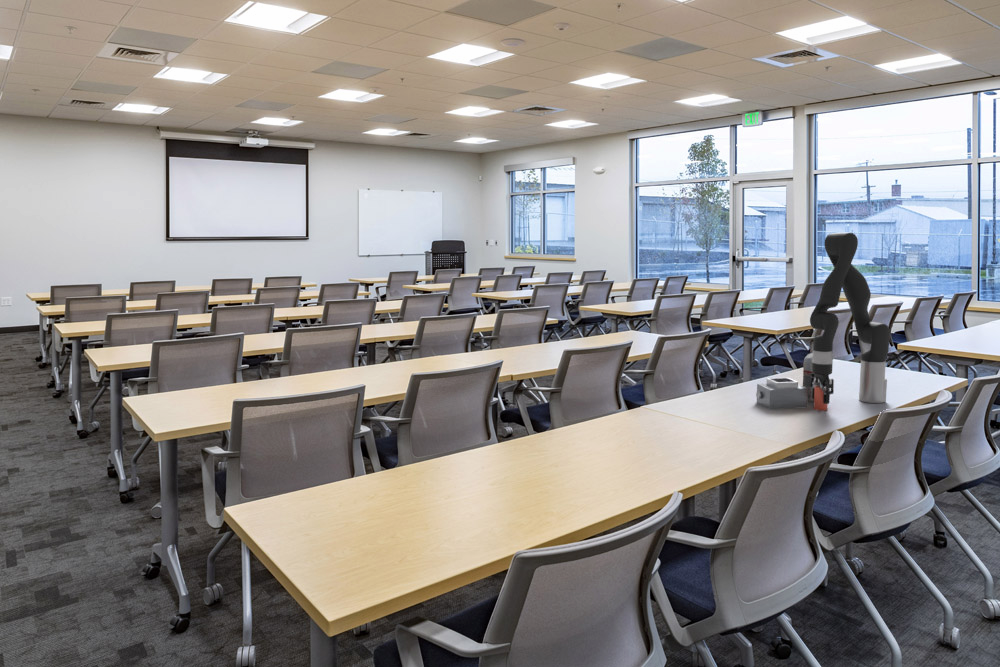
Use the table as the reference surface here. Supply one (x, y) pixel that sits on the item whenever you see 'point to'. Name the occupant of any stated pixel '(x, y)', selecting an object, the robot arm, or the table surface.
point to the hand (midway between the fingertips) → (820, 401)
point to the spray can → (808, 375)
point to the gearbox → (782, 394)
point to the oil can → (819, 399)
